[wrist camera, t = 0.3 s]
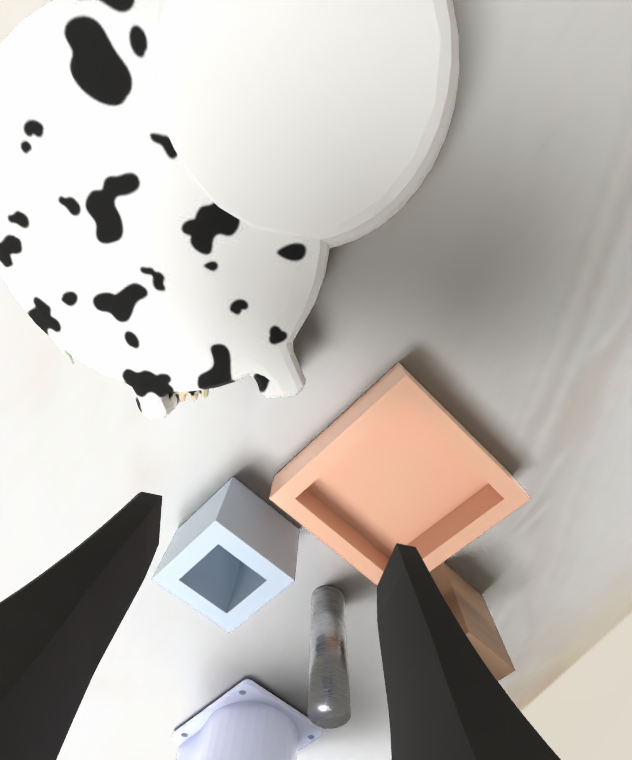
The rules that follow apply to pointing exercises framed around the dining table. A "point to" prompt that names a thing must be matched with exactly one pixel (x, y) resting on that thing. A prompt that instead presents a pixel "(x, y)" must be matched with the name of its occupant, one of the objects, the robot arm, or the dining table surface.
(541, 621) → the dining table surface
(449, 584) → the walnut block
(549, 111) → the dining table surface
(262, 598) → the slate block
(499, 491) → the tray
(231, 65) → the toy
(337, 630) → the pin
